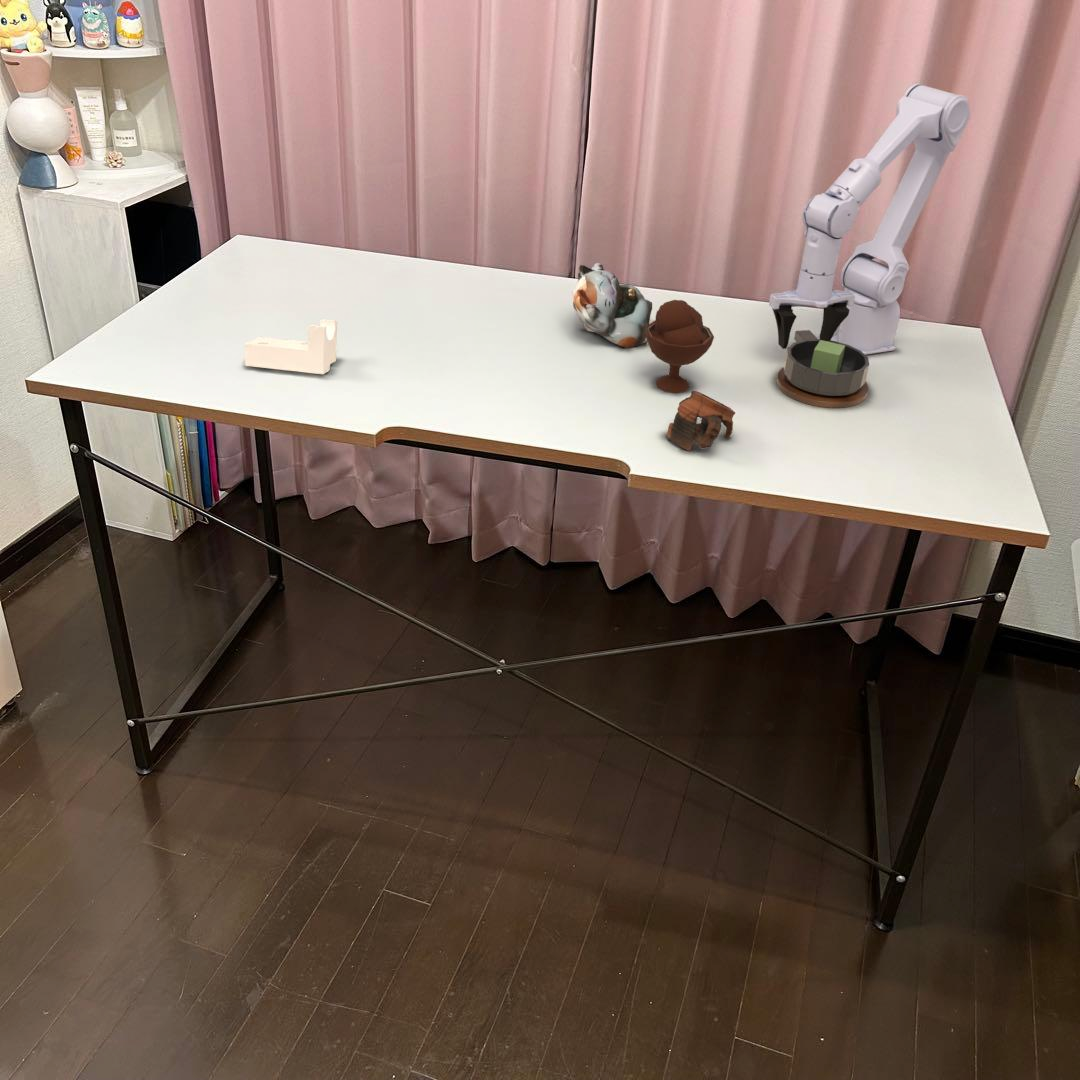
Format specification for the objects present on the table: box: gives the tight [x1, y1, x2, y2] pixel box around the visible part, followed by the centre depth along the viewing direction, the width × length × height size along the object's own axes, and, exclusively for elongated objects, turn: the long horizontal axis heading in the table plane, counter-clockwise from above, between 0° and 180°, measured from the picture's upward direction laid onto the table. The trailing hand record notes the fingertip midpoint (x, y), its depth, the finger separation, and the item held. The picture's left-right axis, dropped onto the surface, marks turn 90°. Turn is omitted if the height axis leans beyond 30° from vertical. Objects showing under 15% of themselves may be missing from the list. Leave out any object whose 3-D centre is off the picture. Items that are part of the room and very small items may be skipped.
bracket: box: [244, 318, 338, 375], centre depth 185 cm, size 13×7×8 cm, turn 82°
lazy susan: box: [776, 366, 869, 409], centre depth 190 cm, size 15×15×1 cm
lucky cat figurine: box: [571, 262, 653, 349], centre depth 200 cm, size 15×12×14 cm
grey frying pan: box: [783, 329, 870, 396], centre depth 189 cm, size 17×13×4 cm
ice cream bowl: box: [645, 299, 715, 394], centre depth 183 cm, size 11×11×15 cm
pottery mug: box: [666, 390, 736, 452], centre depth 171 cm, size 12×10×8 cm
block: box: [811, 340, 845, 373], centre depth 187 cm, size 4×4×5 cm
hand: (803, 345), depth 195 cm, fingers open, 7 cm apart
